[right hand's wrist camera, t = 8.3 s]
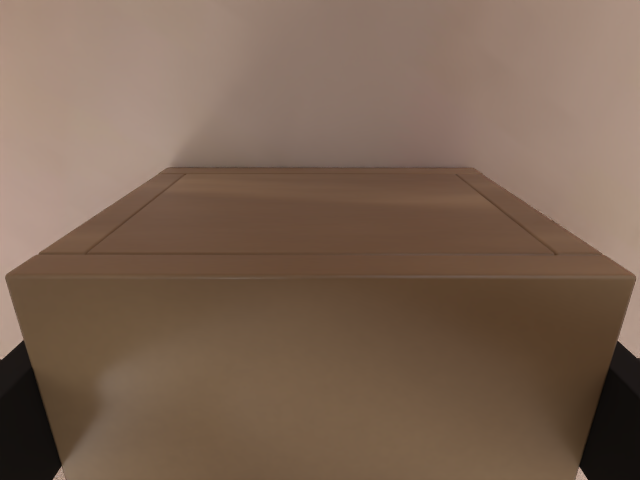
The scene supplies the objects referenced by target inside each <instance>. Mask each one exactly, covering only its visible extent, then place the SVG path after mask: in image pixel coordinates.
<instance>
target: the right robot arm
mask: <svg viewBox="0 0 640 480" xmlns="http://www.w3.org/2000/svg"><path fill="white" fill-rule="evenodd" d="M61 466H62V465H61V462H60V458H59V455H58V452H57V448H56V445H55V442H54V438H53V435H52V432H51V428H50V425H49V422H48V418H47V415H46V412H45V409H44V405H43V402H42V399H41V395H40V392H39V389H38V385H37V382H36V379H35V375H34V372H33V369H32V365H31V362H30V359H29V355H28V352H27V349H26V345H25V342H24V340H23V341H22V342H21V343H20V344H19V345H18V346H17V347H16V348H14V349H13V350H12V351H11V352H10V353H9V354H8V355H7V356H6V357H5V358H3V359H2V360H0V480H53V478H54V477H55V475H56V474H57V472H58V471H59V469H60V467H61ZM579 467H580V468H581V470H582V471H583V473H584V474H585V476H586V477H587V479H588V480H640V358H636V357H635V356H634V355H633V354H632V353H631V352H629V351H628V350H627V349H626V348H625V347H624V346H623V345H622V344H621V343H619V342H618V341H617V344H616V347H615V350H614V353H613V357H612V360H611V363H610V367H609V370H608V373H607V376H606V380H605V383H604V386H603V390H602V393H601V396H600V399H599V403H598V406H597V409H596V413H595V416H594V419H593V422H592V426H591V429H590V432H589V436H588V439H587V442H586V445H585V449H584V452H583V455H582V459H581V462H580V465H579Z"/></svg>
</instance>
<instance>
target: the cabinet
mask: <svg viewBox="0 0 640 480" xmlns="http://www.w3.org/2000/svg"><path fill="white" fill-rule="evenodd" d="M5 279H6V282H7V286H8V289H9V292H10V296H11V299H12V302H13V306H14V309H15V312H16V316H17V319H18V322H19V326H20V329H21V332H22V336H23V339H24V342H25V345H26V349H27V352H28V355H29V359H30V362H31V365H32V369H33V372H34V375H35V379H36V382H37V385H38V389H39V392H40V395H41V399H42V402H43V405H44V409H45V412H46V415H47V418H48V422H49V425H50V428H51V432H52V435H53V438H54V442H55V445H56V448H57V452H58V455H59V458H60V462H61V465H62V468H63V472H64V475H65V478H66V480H575V478H576V475H577V472H578V468H579V465H580V462H581V459H582V455H583V452H584V449H585V445H586V442H587V439H588V436H589V432H590V429H591V426H592V422H593V419H594V416H595V413H596V409H597V406H598V403H599V399H600V396H601V393H602V390H603V386H604V383H605V380H606V376H607V373H608V370H609V367H610V363H611V360H612V357H613V353H614V350H615V347H616V344H617V340H618V337H619V334H620V330H621V327H622V324H623V320H624V317H625V314H626V311H627V307H628V304H629V301H630V297H631V294H632V291H633V288H634V284H635V281H636V276H635V275H634V274H633V273H631V272H630V271H628V270H627V269H625V268H624V267H622V266H620V265H619V264H617V263H616V262H614V261H613V260H611V259H610V258H608V257H607V256H605V255H602V253H601V252H599V251H598V250H596V249H595V248H593V247H592V246H590V245H589V244H587V243H586V242H584V241H582V240H581V239H579V238H578V237H576V236H575V235H573V234H572V233H570V232H569V231H567V230H566V229H564V228H563V227H561V226H560V225H558V224H557V223H555V222H554V221H552V220H551V219H549V218H548V217H546V216H545V215H543V214H542V213H540V212H539V211H537V210H536V209H534V208H533V207H531V206H530V205H528V204H527V203H525V202H524V201H522V200H521V199H519V198H517V197H516V196H514V195H513V194H511V193H510V192H508V191H507V190H505V189H504V188H502V187H501V186H499V185H498V184H496V183H495V182H493V181H492V180H490V179H489V178H487V177H486V176H484V175H483V174H482V173H480V172H479V171H477V170H476V169H474V168H166V169H165V170H163V171H162V172H160V173H159V174H158V175H156V176H155V177H153V178H152V179H150V180H149V181H147V182H146V183H144V184H143V185H141V186H140V187H138V188H137V189H135V190H134V191H132V192H131V193H129V194H128V195H126V196H125V197H123V198H122V199H120V200H119V201H117V202H115V203H114V204H112V205H111V206H109V207H108V208H106V209H105V210H103V211H102V212H100V213H99V214H97V215H96V216H94V217H93V218H91V219H90V220H88V221H87V222H85V223H84V224H82V225H81V226H79V227H78V228H76V229H74V230H73V231H71V232H70V233H68V234H67V235H65V236H64V237H62V238H61V239H59V240H58V241H56V242H55V243H53V244H52V245H50V246H49V247H47V248H46V249H44V250H43V251H41V252H40V253H39V255H35V256H33V257H32V258H30V259H29V260H27V261H26V262H24V263H23V264H21V265H20V266H18V267H17V268H15V269H14V270H12V271H11V272H9V273H8V274H6V277H5Z"/></svg>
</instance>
